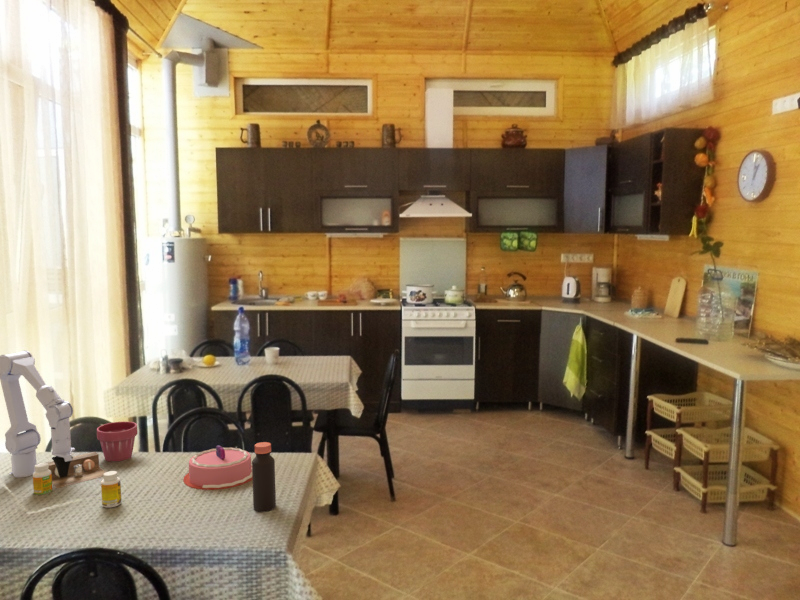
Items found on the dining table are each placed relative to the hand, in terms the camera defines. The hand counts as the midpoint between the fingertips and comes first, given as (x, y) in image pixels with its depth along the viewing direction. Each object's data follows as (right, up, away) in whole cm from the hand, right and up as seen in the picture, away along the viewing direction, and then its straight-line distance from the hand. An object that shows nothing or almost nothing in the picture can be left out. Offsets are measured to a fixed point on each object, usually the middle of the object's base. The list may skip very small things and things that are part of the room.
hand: (63, 476), depth 218 cm
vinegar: (+74, -3, -23) cm, 78 cm away
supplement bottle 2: (+26, -4, -20) cm, 32 cm away
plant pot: (+9, 0, +22) cm, 24 cm away
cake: (+53, -1, +4) cm, 53 cm away
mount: (+3, -1, +4) cm, 5 cm away
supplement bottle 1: (-1, -3, -10) cm, 11 cm away
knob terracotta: (+3, 0, +10) cm, 11 cm away
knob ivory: (-4, 0, +4) cm, 6 cm away
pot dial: (+4, -1, +2) cm, 5 cm away
